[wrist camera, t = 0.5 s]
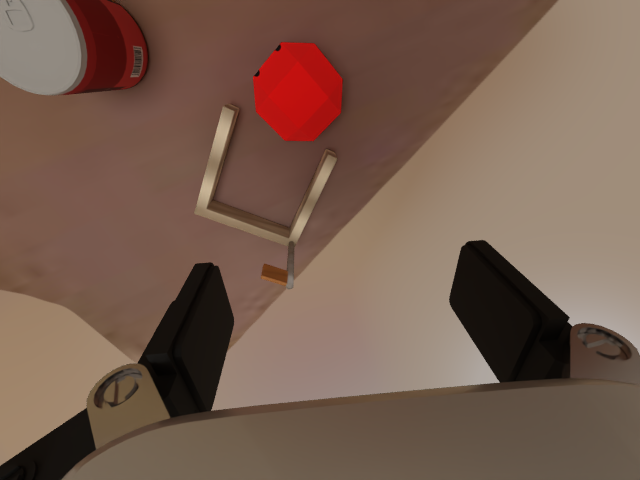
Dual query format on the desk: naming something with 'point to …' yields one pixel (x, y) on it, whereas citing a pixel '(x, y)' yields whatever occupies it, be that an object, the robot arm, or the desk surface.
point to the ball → (298, 91)
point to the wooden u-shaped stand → (250, 221)
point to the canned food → (70, 46)
